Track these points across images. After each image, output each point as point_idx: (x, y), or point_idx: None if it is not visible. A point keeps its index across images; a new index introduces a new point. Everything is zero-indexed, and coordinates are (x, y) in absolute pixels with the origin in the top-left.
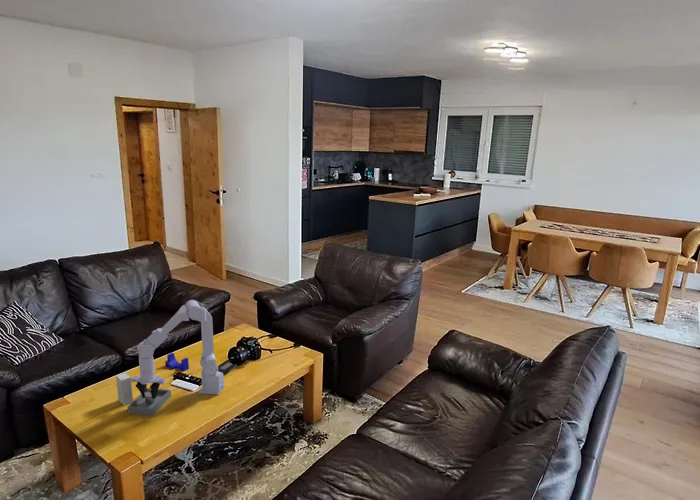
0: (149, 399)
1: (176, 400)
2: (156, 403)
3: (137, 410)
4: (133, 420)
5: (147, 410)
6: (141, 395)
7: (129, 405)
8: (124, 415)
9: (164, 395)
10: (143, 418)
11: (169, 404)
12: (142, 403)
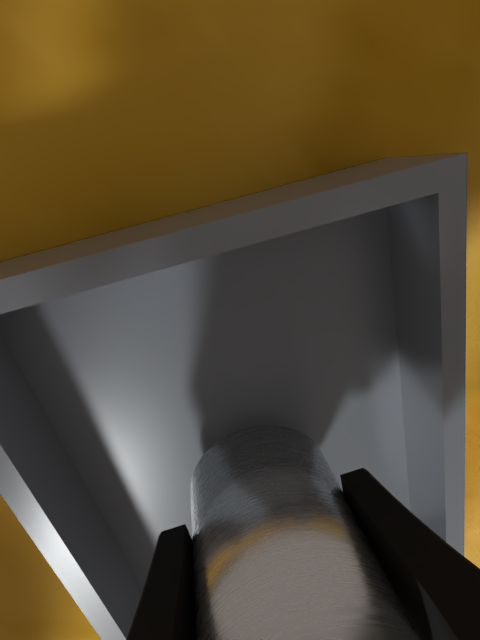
0: (221, 490)
1: (25, 604)
2: (151, 477)
3: (241, 205)
4: (151, 2)
5: (31, 265)
6: (439, 498)
7: (460, 217)
8: (406, 86)
9: (116, 636)
10: (37, 133)
11: (23, 531)
12: (333, 399)
